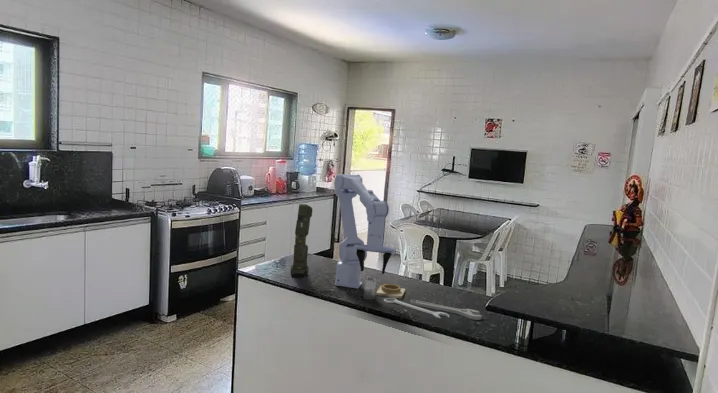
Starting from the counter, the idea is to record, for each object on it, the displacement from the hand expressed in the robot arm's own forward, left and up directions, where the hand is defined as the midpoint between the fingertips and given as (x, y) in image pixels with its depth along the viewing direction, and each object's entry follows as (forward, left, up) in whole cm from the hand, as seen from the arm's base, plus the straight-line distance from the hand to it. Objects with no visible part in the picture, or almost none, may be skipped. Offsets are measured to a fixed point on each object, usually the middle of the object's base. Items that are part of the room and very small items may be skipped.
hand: (372, 271), depth 165 cm
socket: (+6, +9, -10) cm, 15 cm away
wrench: (+17, -4, -10) cm, 20 cm away
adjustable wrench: (+27, 0, -10) cm, 29 cm away
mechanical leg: (-34, +17, -10) cm, 39 cm away
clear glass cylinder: (-1, 0, -10) cm, 10 cm away
